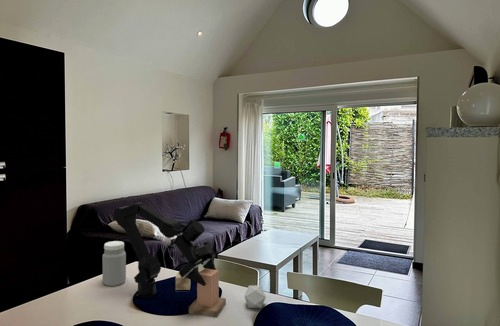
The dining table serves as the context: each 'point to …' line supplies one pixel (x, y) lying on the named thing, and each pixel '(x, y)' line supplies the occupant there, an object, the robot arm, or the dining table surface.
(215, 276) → the pillar
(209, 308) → the slab
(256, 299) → the die
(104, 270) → the jar
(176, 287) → the oak cube
